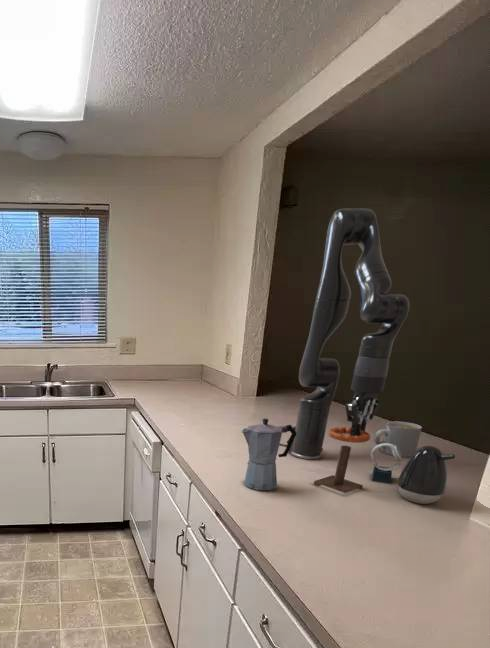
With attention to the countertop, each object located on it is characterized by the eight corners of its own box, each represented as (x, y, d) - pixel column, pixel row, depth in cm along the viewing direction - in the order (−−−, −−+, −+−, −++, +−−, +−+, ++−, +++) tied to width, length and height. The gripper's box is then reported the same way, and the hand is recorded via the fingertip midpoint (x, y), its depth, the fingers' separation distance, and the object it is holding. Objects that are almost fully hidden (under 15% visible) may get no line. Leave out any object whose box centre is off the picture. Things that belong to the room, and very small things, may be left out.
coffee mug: (408, 449, 157) (415, 422, 153) (419, 458, 148) (427, 429, 145) (366, 446, 161) (372, 419, 157) (374, 454, 152) (381, 426, 148)
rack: (313, 484, 127) (321, 445, 123) (332, 478, 131) (339, 440, 127) (343, 495, 119) (352, 454, 115) (362, 489, 124) (371, 448, 119)
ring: (320, 436, 122) (321, 429, 121) (341, 430, 126) (342, 424, 126) (355, 445, 114) (357, 439, 113) (377, 439, 118) (378, 433, 118)
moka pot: (229, 479, 131) (236, 415, 124) (278, 478, 132) (288, 413, 125) (242, 492, 122) (251, 423, 115) (295, 490, 123) (307, 422, 116)
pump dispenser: (428, 511, 110) (445, 455, 105) (386, 496, 119) (399, 443, 114) (449, 503, 115) (466, 449, 109) (407, 489, 123) (421, 438, 118)
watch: (397, 484, 126) (406, 449, 123) (365, 479, 130) (373, 444, 127) (396, 478, 131) (405, 444, 127) (365, 473, 135) (373, 439, 131)
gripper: (370, 370, 122) (357, 429, 128) (341, 373, 116) (329, 435, 122) (398, 373, 116) (384, 435, 122) (370, 377, 110) (355, 442, 116)
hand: (356, 435), depth 122 cm, fingers closed on ring, 2 cm apart
